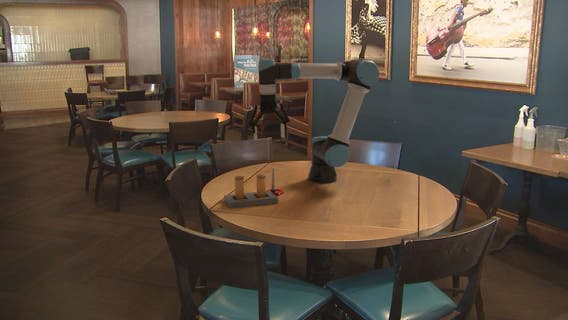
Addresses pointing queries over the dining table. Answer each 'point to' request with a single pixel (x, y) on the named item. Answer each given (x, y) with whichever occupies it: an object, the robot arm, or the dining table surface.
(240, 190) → the cylinder
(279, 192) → the tow hook
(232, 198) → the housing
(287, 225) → the dining table surface
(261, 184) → the peg
